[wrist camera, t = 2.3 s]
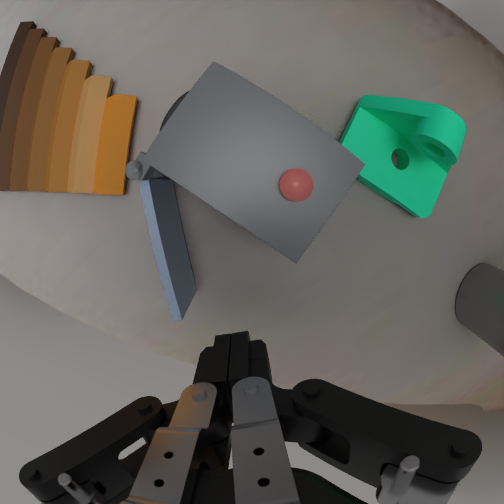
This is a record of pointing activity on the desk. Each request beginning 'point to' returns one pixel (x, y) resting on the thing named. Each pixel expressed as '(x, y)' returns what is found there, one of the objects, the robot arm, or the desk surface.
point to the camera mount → (404, 148)
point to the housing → (251, 160)
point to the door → (168, 242)
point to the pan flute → (60, 121)
